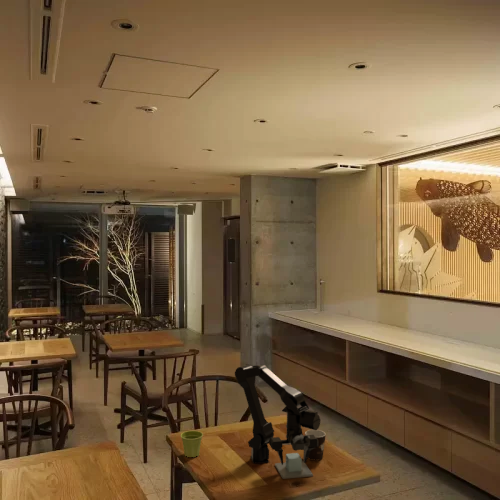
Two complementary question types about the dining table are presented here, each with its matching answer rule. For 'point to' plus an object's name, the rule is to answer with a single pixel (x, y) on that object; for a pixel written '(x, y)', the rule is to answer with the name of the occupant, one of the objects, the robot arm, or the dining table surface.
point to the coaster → (286, 474)
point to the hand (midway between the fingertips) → (293, 463)
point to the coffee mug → (318, 451)
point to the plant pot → (191, 443)
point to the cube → (293, 462)
